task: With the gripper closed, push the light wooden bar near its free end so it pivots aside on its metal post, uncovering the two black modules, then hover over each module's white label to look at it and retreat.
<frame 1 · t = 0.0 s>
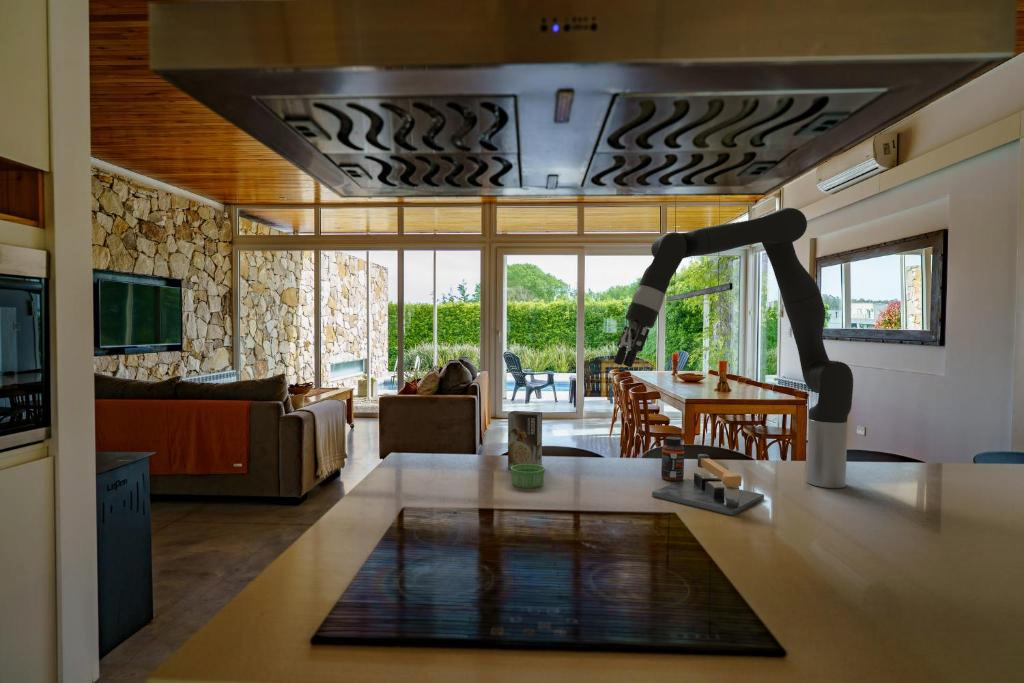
hand: (622, 365, 150), 31 cm above the kitchen island, tool tilted 20°, fingers open, 8 cm apart
light wooden bar: (717, 470, 142), point 7 cm above the kitchen island, hinge at 0.0°
coffee box: (524, 468, 170), on the kitchen island
ramekin: (527, 485, 152), on the kitchen island
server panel: (707, 497, 142), on the kitchen island
supplement bottle: (672, 479, 160), on the kitchen island
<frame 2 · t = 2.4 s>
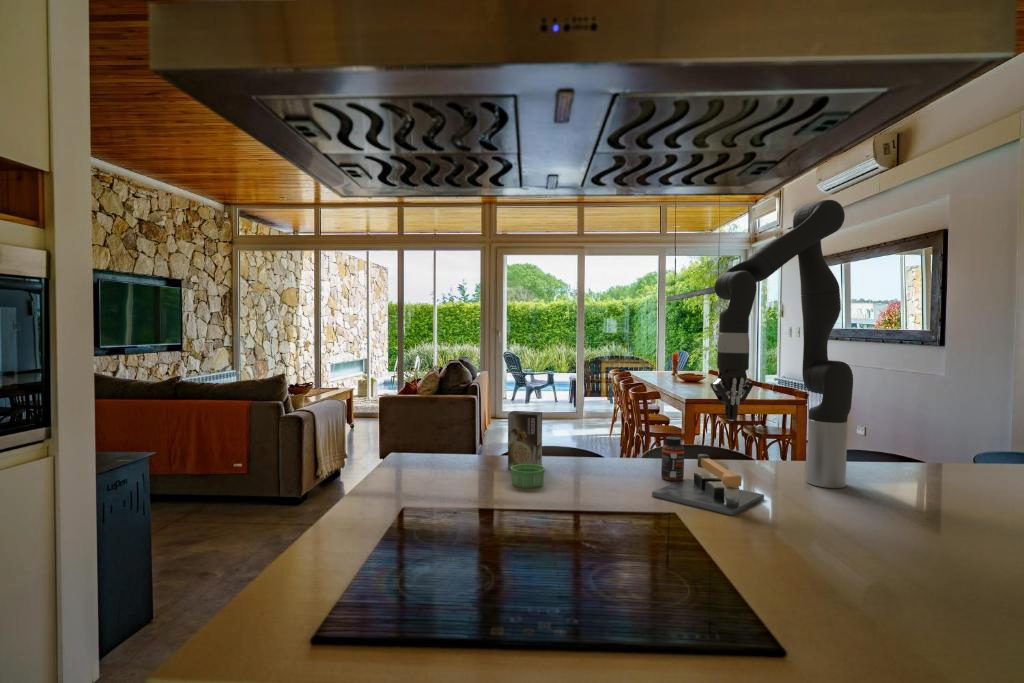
hand: (731, 419, 148), 18 cm above the kitchen island, tool pointing down, fingers closed
nothing on the kitchen island moved.
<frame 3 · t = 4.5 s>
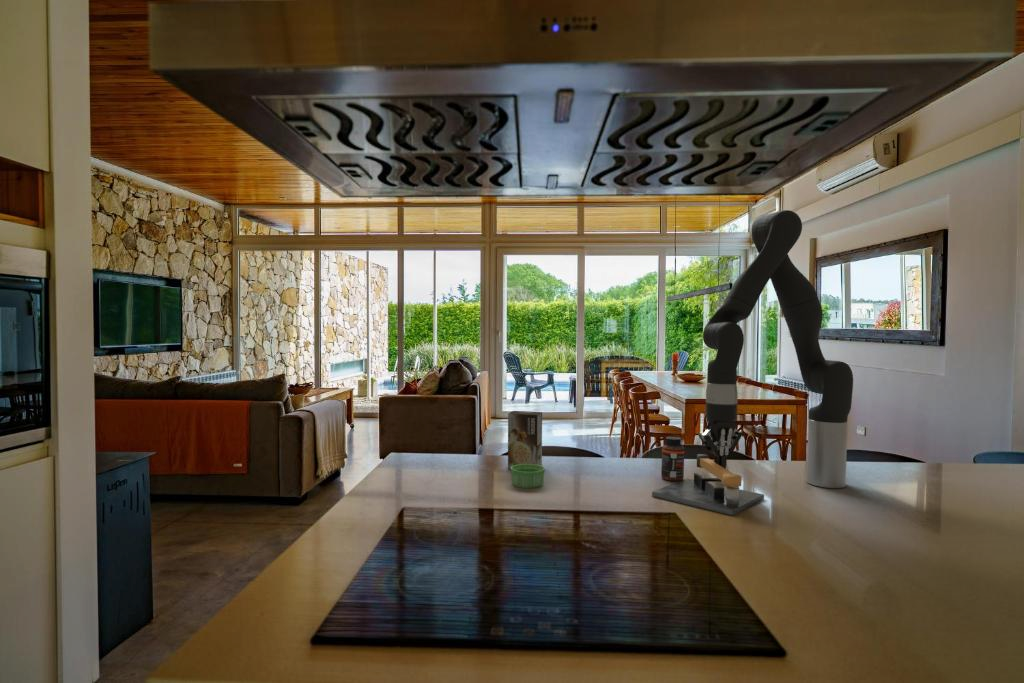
hand: (720, 469, 148), 6 cm above the kitchen island, tool pointing down, fingers closed
light wooden bar: (716, 470, 142), point 7 cm above the kitchen island, hinge at 0.8°, touching gripper
everything else where it was.
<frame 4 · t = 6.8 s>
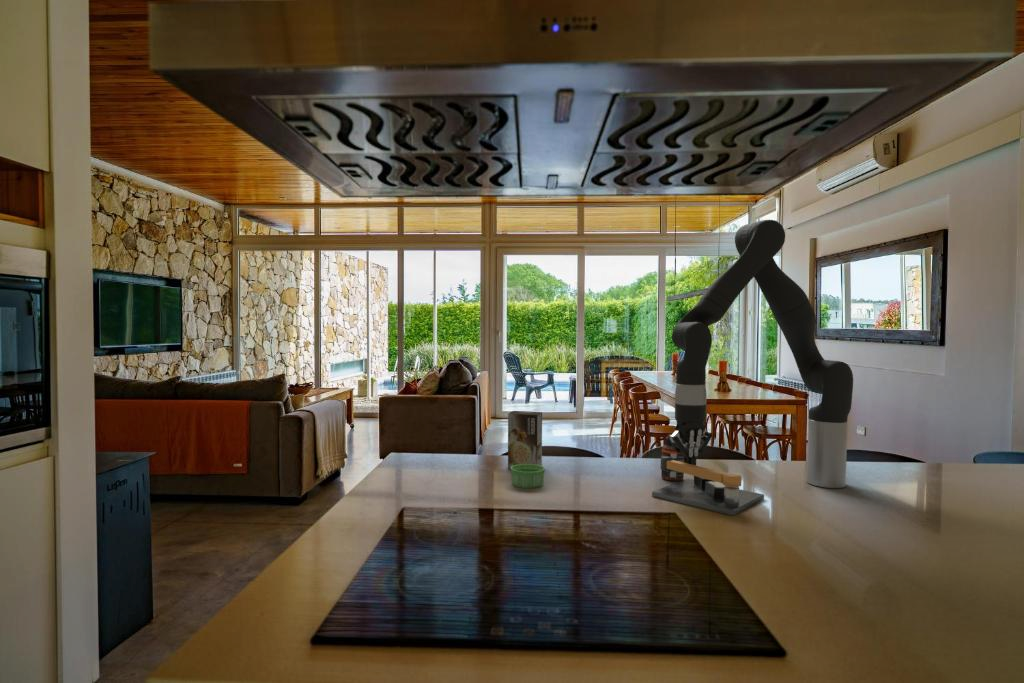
hand: (690, 470, 146), 6 cm above the kitchen island, tool pointing down, fingers closed
light wooden bar: (698, 471, 141), point 7 cm above the kitchen island, hinge at 33.8°, touching gripper
everything else where it was.
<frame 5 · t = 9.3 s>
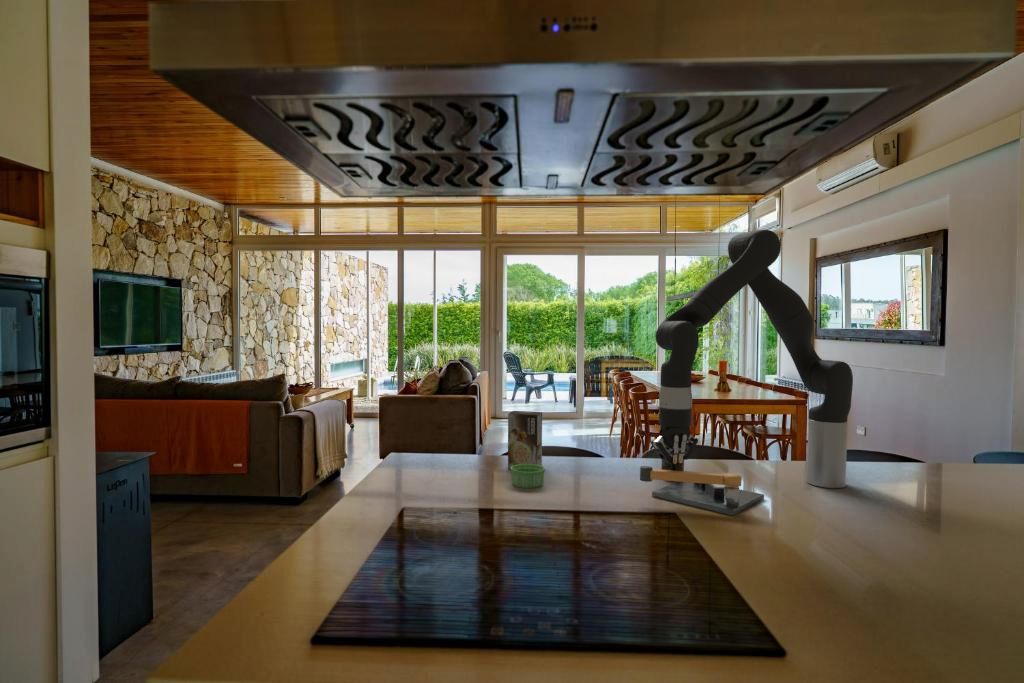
hand: (674, 478, 139), 6 cm above the kitchen island, tool pointing down, fingers closed
light wooden bar: (689, 476, 135), point 7 cm above the kitchen island, hinge at 75.5°, touching gripper
everything else where it was.
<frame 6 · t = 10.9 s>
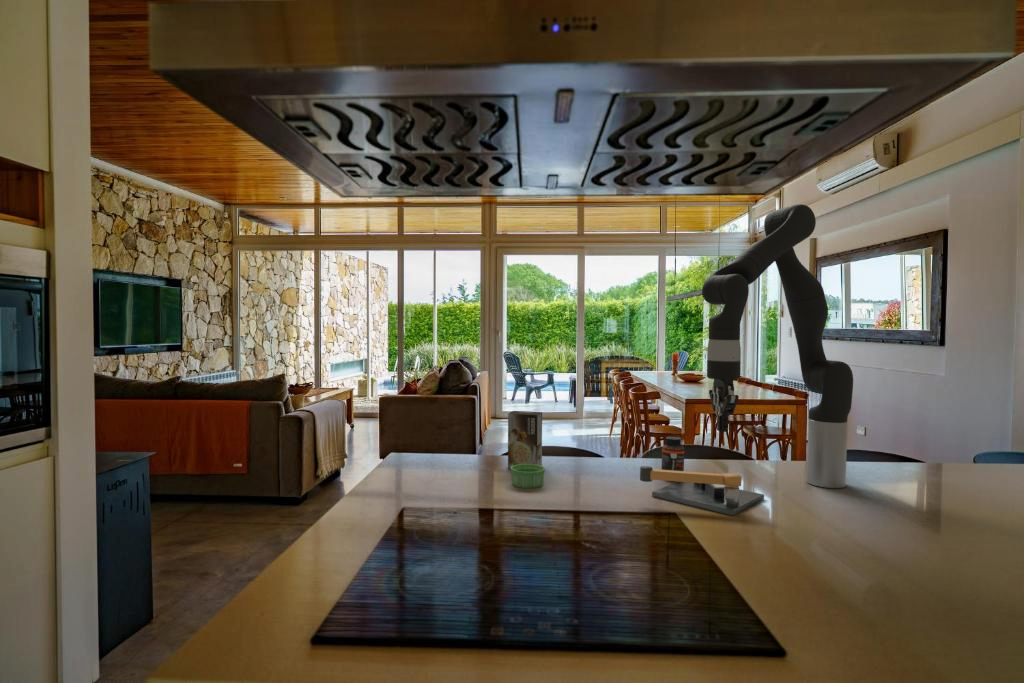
hand: (722, 431, 140), 17 cm above the kitchen island, tool pointing down, fingers closed
light wooden bar: (689, 476, 135), point 7 cm above the kitchen island, hinge at 75.7°
everything else where it was.
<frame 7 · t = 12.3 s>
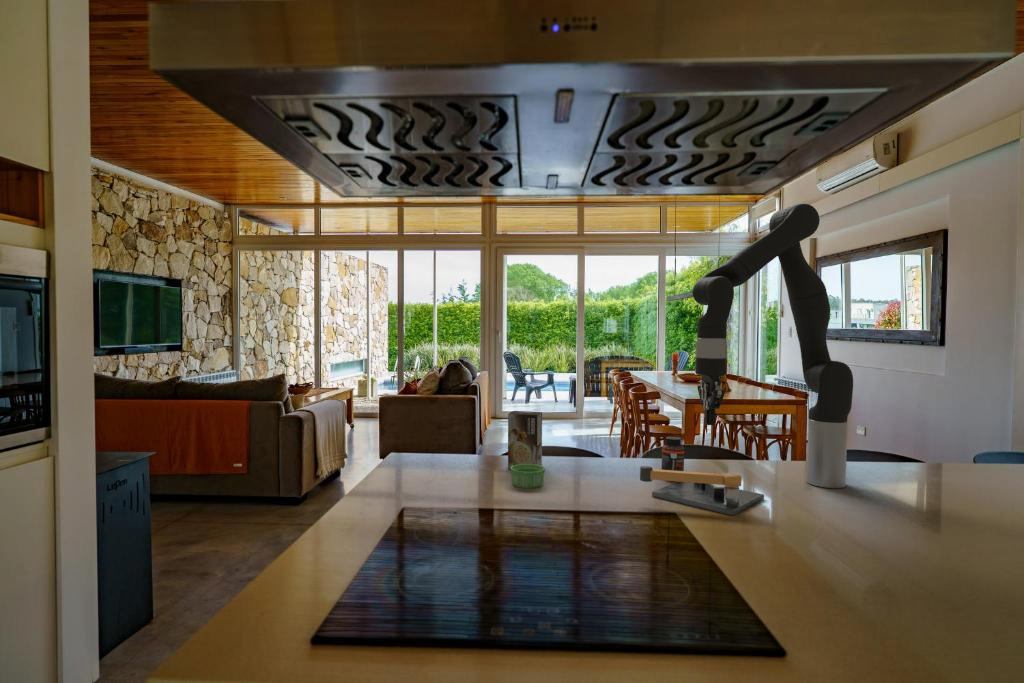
hand: (709, 424, 148), 17 cm above the kitchen island, tool pointing down, fingers closed
nothing on the kitchen island moved.
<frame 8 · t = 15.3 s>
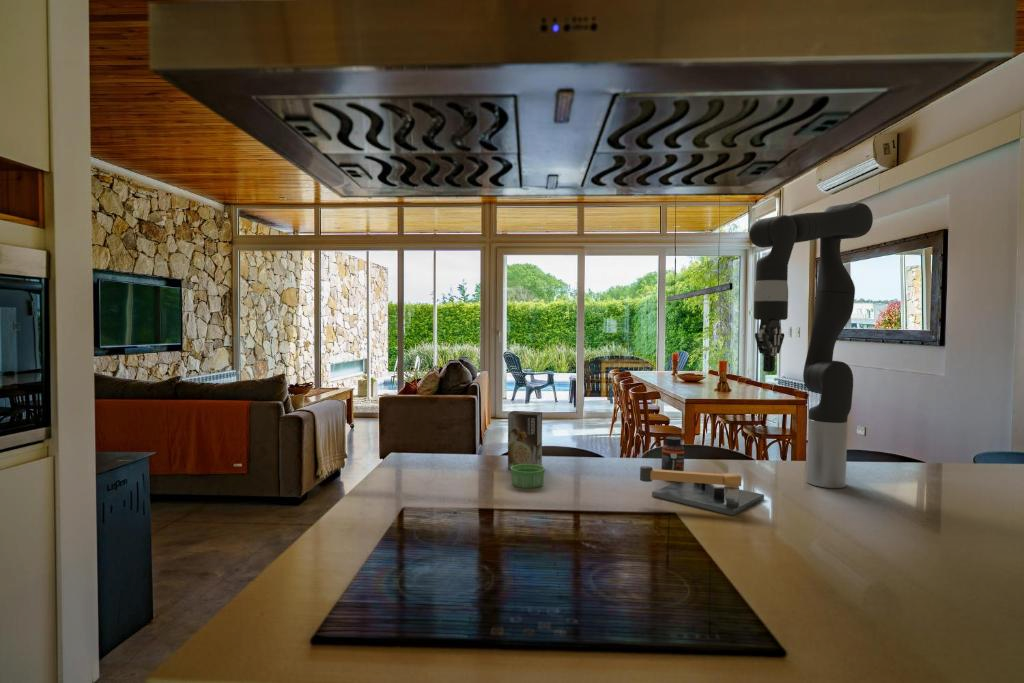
hand: (768, 371, 142), 31 cm above the kitchen island, tool pointing down, fingers closed
nothing on the kitchen island moved.
at the end: light wooden bar at +76° (first picture: +0°); supplement bottle moved 0.2 cm from its start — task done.
